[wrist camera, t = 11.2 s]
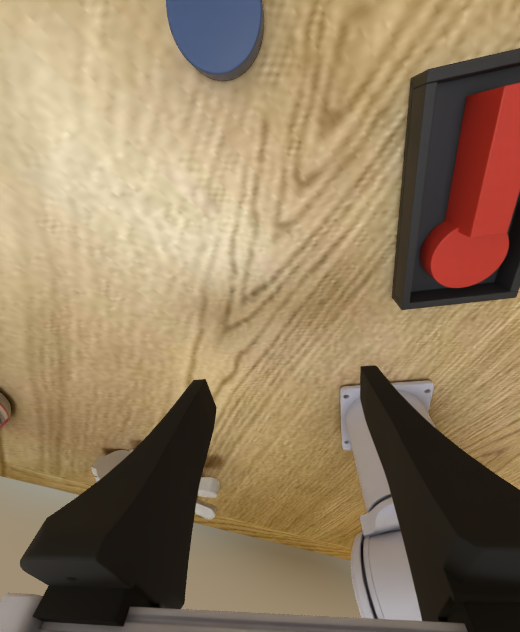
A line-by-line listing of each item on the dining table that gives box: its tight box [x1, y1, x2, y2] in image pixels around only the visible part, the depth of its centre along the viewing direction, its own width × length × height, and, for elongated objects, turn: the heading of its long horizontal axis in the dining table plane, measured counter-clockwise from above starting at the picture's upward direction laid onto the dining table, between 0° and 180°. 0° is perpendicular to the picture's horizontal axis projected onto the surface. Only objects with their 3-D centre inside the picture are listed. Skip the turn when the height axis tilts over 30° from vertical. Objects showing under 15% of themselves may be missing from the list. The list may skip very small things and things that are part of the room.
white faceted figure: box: [91, 449, 220, 519], centre depth 33 cm, size 10×5×15 cm
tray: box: [392, 48, 520, 310], centre depth 16 cm, size 13×7×2 cm, turn 10°
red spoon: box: [420, 83, 520, 288], centre depth 15 cm, size 10×4×3 cm, turn 10°
